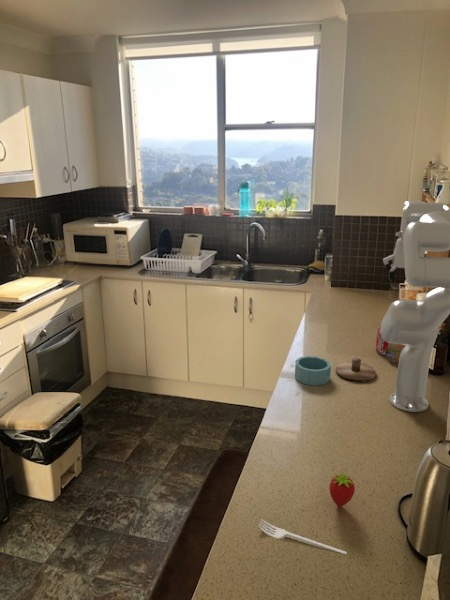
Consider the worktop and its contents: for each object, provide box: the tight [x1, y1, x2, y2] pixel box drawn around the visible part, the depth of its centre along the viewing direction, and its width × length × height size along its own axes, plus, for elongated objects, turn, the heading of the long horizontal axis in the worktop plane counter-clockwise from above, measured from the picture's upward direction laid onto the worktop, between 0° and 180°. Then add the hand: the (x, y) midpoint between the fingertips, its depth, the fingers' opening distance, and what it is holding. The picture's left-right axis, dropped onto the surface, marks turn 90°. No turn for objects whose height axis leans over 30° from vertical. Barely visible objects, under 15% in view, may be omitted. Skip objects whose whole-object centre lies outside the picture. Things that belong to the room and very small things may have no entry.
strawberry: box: [328, 472, 355, 508], centre depth 116 cm, size 6×8×10 cm
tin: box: [384, 343, 407, 365], centre depth 194 cm, size 15×3×8 cm, turn 62°
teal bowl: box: [294, 355, 332, 387], centre depth 182 cm, size 13×13×6 cm
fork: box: [257, 518, 347, 555], centre depth 107 cm, size 3×20×2 cm, turn 68°
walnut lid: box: [335, 357, 377, 382], centre depth 186 cm, size 15×15×6 cm
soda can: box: [375, 324, 392, 356], centre depth 204 cm, size 7×7×12 cm
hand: (404, 282), depth 177 cm, fingers open, 9 cm apart
